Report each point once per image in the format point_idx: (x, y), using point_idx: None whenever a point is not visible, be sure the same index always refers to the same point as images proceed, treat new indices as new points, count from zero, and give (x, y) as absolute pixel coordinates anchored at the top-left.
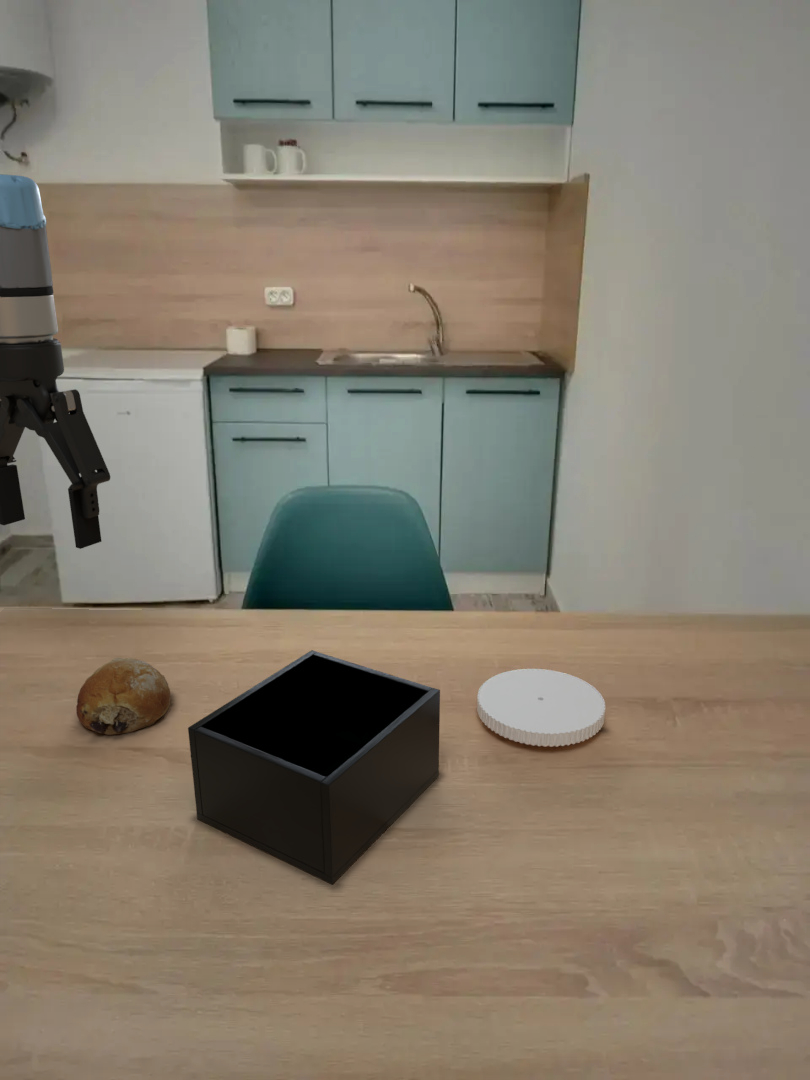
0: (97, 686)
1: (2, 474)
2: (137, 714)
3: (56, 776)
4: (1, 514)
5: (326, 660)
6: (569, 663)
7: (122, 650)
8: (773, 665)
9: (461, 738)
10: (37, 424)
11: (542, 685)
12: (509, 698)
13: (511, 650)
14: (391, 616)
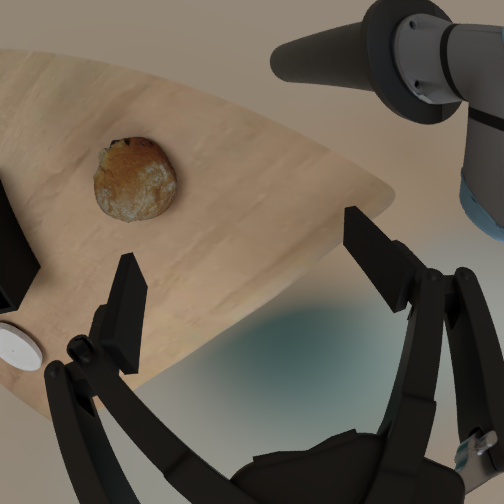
0: (119, 163)
1: (394, 277)
2: (93, 177)
3: (85, 95)
4: (356, 217)
5: (4, 307)
6: None
7: (251, 223)
8: (33, 404)
9: None
10: (187, 491)
11: (23, 359)
12: (16, 344)
13: None
14: (155, 369)
